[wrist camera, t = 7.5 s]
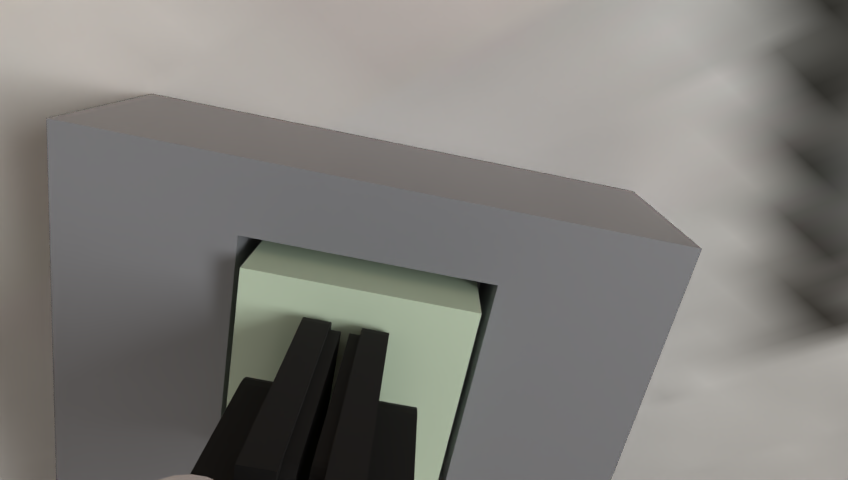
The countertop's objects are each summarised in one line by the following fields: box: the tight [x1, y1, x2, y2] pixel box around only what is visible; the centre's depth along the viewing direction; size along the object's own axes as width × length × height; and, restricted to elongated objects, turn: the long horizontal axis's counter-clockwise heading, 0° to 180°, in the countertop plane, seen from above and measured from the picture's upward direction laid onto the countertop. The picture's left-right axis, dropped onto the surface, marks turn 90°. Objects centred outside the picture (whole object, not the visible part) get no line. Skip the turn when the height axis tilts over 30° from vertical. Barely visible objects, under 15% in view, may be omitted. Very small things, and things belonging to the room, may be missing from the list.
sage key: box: [226, 240, 482, 480], centre depth 12 cm, size 4×4×2 cm
